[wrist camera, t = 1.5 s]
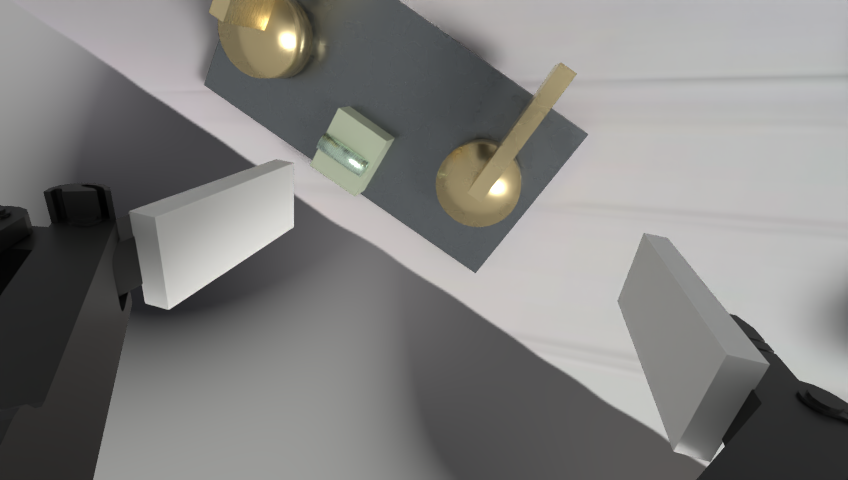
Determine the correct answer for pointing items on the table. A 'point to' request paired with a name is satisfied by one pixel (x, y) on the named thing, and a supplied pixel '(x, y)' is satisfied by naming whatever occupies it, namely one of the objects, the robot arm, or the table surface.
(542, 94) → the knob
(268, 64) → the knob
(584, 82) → the table surface
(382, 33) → the level plate
